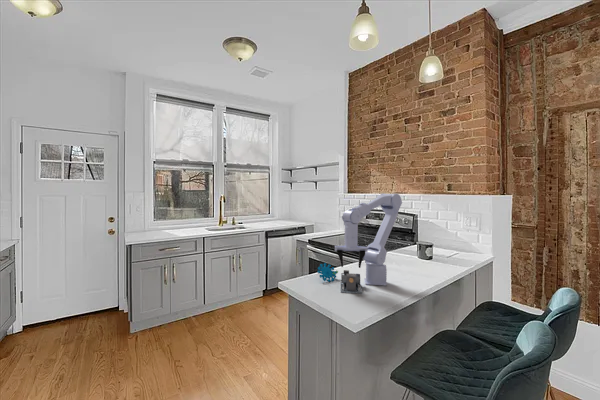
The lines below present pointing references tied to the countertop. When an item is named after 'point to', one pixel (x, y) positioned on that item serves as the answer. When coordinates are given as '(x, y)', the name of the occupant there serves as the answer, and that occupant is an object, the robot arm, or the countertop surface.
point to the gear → (327, 272)
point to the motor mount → (343, 283)
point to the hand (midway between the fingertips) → (350, 266)
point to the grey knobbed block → (350, 281)
